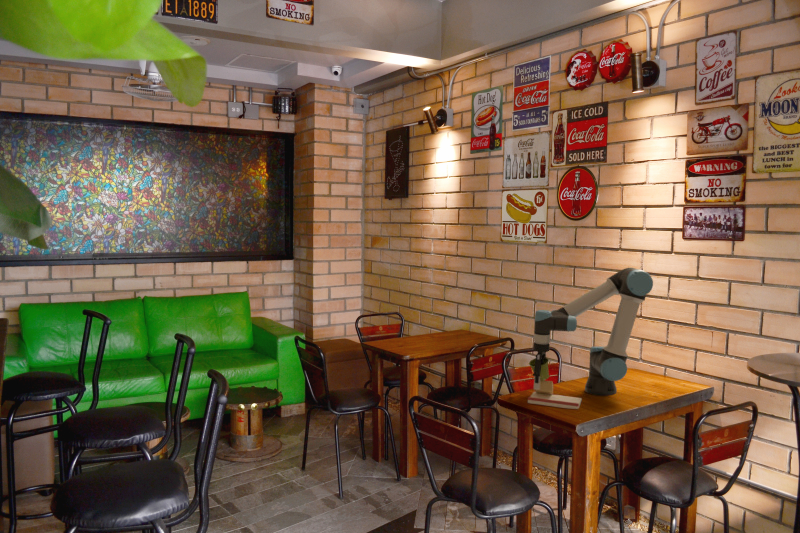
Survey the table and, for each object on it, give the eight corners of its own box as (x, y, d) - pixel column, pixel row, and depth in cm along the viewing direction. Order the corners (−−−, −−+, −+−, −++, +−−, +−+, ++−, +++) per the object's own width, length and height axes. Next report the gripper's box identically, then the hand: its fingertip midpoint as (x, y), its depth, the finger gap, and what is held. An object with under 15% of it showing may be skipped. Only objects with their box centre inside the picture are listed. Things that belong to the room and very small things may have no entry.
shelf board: (581, 401, 285) (581, 395, 284) (578, 409, 272) (578, 403, 271) (533, 394, 294) (533, 389, 293) (527, 402, 281) (528, 397, 281)
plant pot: (547, 383, 280) (543, 366, 279) (529, 381, 287) (525, 365, 285) (555, 373, 287) (551, 357, 285) (538, 372, 293) (534, 356, 291)
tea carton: (534, 390, 285) (536, 392, 292) (551, 391, 283) (552, 394, 290) (535, 379, 287) (536, 382, 294) (552, 380, 284) (553, 383, 292)
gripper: (538, 336, 298) (536, 378, 300) (528, 346, 275) (526, 391, 277) (553, 338, 295) (551, 380, 297) (545, 348, 272) (542, 393, 274)
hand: (539, 385), depth 287 cm, fingers open, 13 cm apart
